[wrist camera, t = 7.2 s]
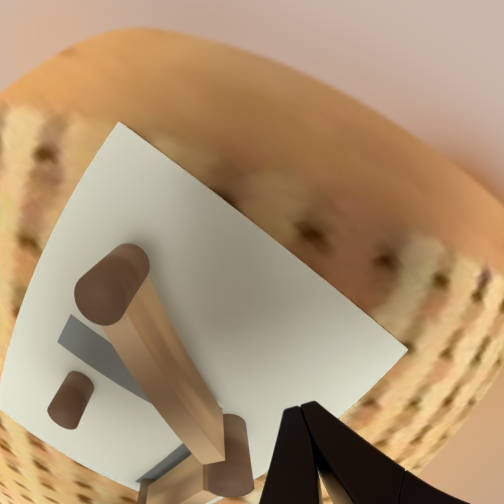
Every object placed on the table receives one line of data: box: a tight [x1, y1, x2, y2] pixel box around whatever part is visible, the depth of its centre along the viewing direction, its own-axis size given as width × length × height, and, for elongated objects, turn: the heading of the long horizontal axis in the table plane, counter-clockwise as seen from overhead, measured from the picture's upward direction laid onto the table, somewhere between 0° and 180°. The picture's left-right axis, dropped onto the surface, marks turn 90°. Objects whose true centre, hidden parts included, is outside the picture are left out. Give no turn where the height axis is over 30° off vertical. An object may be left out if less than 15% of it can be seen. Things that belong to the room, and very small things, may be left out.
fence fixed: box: [47, 371, 254, 504], centre depth 12 cm, size 11×9×4 cm
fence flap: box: [74, 243, 225, 465], centre depth 10 cm, size 9×2×3 cm, turn 20°
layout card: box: [0, 122, 408, 504], centre depth 14 cm, size 20×17×1 cm
